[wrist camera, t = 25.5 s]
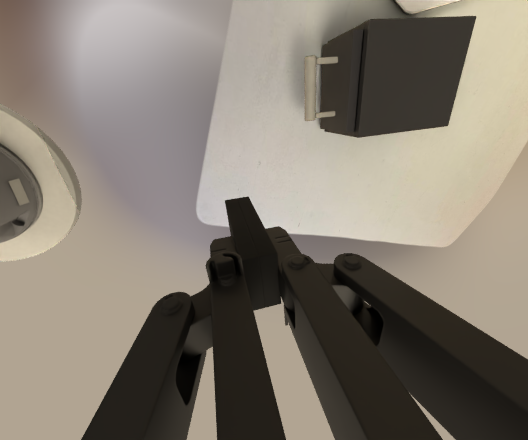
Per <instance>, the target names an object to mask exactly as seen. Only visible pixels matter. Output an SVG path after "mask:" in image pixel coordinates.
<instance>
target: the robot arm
mask: <svg viewBox="0 0 528 440" xmlns="http://www.w3.org/2000/svg"><path fill="white" fill-rule="evenodd" d="M225 203H226V209H227V215H228V221H229V227H230V232H231V236H230V237H225V238H220V239H215V240H213V242H212V243H211V245H210V252H211V253H210V254H211V258H210V259H209V260H208V261H207V263H206V269H207V273H208V277H209V281H210V284H209V285H208V286H207V287H206V288H205V289H204V290H202V291H201V292H199V293H197V294H195V295H193V296H191V297H190V295H188V294H187V293H184V292H176V293H171V294H169V295H166V296H164V297H163V298H161V299H160V300H159V301H158V302H157V303H156V304H155V305H154V307H153V308H152V310H151V312H150V314H149V316H148V318H147V319H146V321H145V323H144V325H143V327H142V329H141V330H140V332H139V334H138V336H137V338H136V340H135V341H134V343H133V345H132V347H131V349H130V351H129V353H128V355H127V356H126V358H125V360H124V362H123V364H122V366H121V368H120V369H119V371H118V373H117V375H116V377H115V378H114V380H113V382H112V384H111V386H110V388H109V389H108V391H107V393H106V395H105V397H104V399H103V401H102V402H101V404H100V406H99V408H98V410H97V412H96V413H95V415H94V417H93V419H92V421H91V423H90V425H89V426H88V428H87V430H86V432H85V434H84V435H83V437H82V439H81V440H186V439H187V435H188V430H189V426H190V422H191V417H192V413H193V409H194V404H195V400H196V396H197V391H198V387H199V382H200V378H201V374H202V369H203V365H204V361H205V357H206V350H208V349H209V348H211V347H212V346H213V359H214V381H215V402H216V423H217V440H286V438H285V434H284V430H283V426H282V422H281V418H280V414H279V410H278V406H277V402H276V398H275V395H274V390H273V386H272V383H271V379H270V375H269V371H268V367H267V363H266V359H265V355H264V351H263V347H262V343H261V339H260V335H259V332H258V328H257V324H256V320H255V316H254V312H253V311H254V310H258V309H261V308H265V307H269V306H273V305H277V304H281V297H282V300H283V302H284V313H285V325H288V323H289V325H290V328H291V330H292V333H293V335H294V338H295V340H296V342H297V345H298V348H299V350H300V353H301V355H302V358H303V360H304V363H305V365H306V368H307V370H308V373H309V375H310V378H311V380H312V383H313V385H314V388H315V390H316V393H317V395H318V398H319V400H320V403H321V405H322V408H323V410H324V413H325V415H326V418H327V420H328V423H329V425H330V428H331V431H332V433H333V436H334V438H335V440H443V439H442V438H441V436H440V435H439V434H438V432H437V431H436V430H435V428H434V427H433V425H432V424H431V423H430V422H429V420H428V419H427V417H426V416H425V414H424V413H423V412H422V410H421V409H420V407H419V406H418V405H417V403H416V402H415V400H414V399H413V398H412V397H411V395H412V396H413V397H414V398H415V399H416V400H417V401H418V402H419V403H420V404H421V405H422V406H423V407H424V408H425V409H426V410H427V411H428V412H429V413H430V414H431V415H432V416H433V417H434V418H435V419H436V420H437V421H438V422H439V423H440V424H441V425H442V426H443V427H444V428H445V429H446V430H447V431H448V432H449V433H450V434H451V435H452V436H453V437H454V438H455V439H456V440H528V359H526V358H524V357H523V356H521V355H520V354H518V353H516V352H515V351H513V350H512V349H510V348H508V347H507V346H505V345H504V344H502V343H500V342H499V341H497V340H496V339H494V338H492V337H491V336H489V335H488V334H486V333H484V332H483V331H481V330H479V329H478V328H476V327H475V326H473V325H472V324H470V323H468V322H467V321H465V320H463V319H462V318H460V317H459V316H457V315H455V314H454V313H452V312H451V311H449V310H447V309H446V308H444V307H443V306H441V305H439V304H438V303H436V302H434V301H433V300H431V299H430V298H428V297H427V296H425V295H423V294H422V293H420V292H419V291H417V290H415V289H414V288H412V287H410V286H409V285H407V284H406V283H404V282H402V281H401V280H399V279H398V278H396V277H394V276H393V275H391V274H390V273H388V272H386V271H385V270H383V269H382V268H380V267H378V266H377V265H375V264H373V263H372V262H370V261H369V260H367V259H365V258H364V257H362V256H360V255H357V254H352V253H344V254H341V255H338V256H337V257H336V258H335V260H334V264H319V263H315V262H314V261H313V260H312V259H311V258H310V257H309V256H306V255H304V254H301V252H300V251H299V249H298V248H297V247H296V245H295V244H294V242H293V241H292V239H291V238H290V237H289V235H288V233H287V232H286V230H284V229H282V228H281V227H279V226H278V227H273V228H268V229H265V228H264V226H263V224H262V222H261V220H260V218H259V216H258V214H257V212H256V210H255V209H254V207H253V205H252V203H251V201H250V199H249V197H243V198H237V199H231V200H225ZM42 208H43V195H42V191H41V188H40V185H39V183H38V181H37V179H36V177H35V175H34V174H33V172H32V171H31V170H30V168H29V167H28V166H27V165H26V164H25V163H24V162H23V161H22V160H21V159H20V158H19V157H18V156H17V155H16V154H15V153H14V152H12V151H11V150H9V149H8V148H7V147H5V146H4V145H2V144H1V143H0V243H2V242H5V241H8V240H10V239H13V238H15V237H17V236H19V235H20V234H22V233H23V232H25V231H26V230H28V229H29V228H30V227H31V226H33V225H34V224H35V222H36V221H37V220H38V218H39V216H40V214H41V212H42ZM365 301H366V302H367V303H368V304H369V305H368V304H367V303H365ZM370 305H371V306H370ZM409 393H410V394H411V395H410V394H409Z"/></svg>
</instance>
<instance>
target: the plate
mask: <svg viewBox="0 0 528 440" xmlns="http://www.w3.org/2000/svg"><path fill="white" fill-rule="evenodd" d="M394 1H395V2H396V3H397V4H398V6H399V7H400V8H401V9H402V11H403V12H404V13H407V14H410V15H411V14H414V13H418V12H421V11H425V10H429V9H432V8H436V7H439V6H443V5H446V4H450V3H454V2H457V1H461V0H394Z"/></svg>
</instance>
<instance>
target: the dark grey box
mask: <svg viewBox="0 0 528 440" xmlns="http://www.w3.org/2000/svg"><path fill="white" fill-rule="evenodd" d="M475 20H476V16H461V17H429V18H397V19H370V20H368V21H366V22H364V23H362V24H360V25H358V26H356V27H355V28H353V29H351V30H349V31H347V32H345V33H343V34H341V35H340V36H338V37H336V38H334V39H332V40H330V41H328V43H329V42H331V41H333V40H335V39H337V38H339V37H341V36H343V35H345V34H347V33H348V32H350V31H352V30H359V29H363V39H362V42H363V52H362V63H361V74H360V85H359V95H358V106H357V117H356V124H355V129H354V132H350V133H344V132H338V131H332V130H326V129H325V131H326V132H331V133H337V134H342V135H347V136H353V137H358V138H359V137H366V136H374V135H382V134H390V133H397V132H405V131H413V130H420V129H428V128H436V127H444V126H448V124H449V120H450V116H451V112H452V108H453V104H454V100H455V97H456V93H457V89H458V85H459V81H460V77H461V74H462V70H463V66H464V62H465V58H466V54H467V51H468V47H469V43H470V39H471V35H472V31H473V27H474V24H475Z"/></svg>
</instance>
